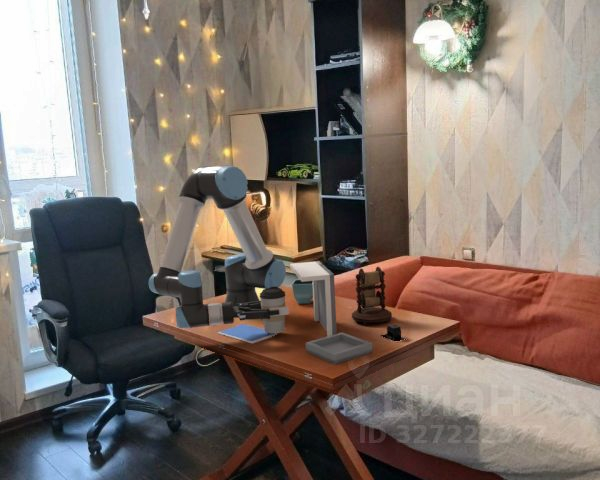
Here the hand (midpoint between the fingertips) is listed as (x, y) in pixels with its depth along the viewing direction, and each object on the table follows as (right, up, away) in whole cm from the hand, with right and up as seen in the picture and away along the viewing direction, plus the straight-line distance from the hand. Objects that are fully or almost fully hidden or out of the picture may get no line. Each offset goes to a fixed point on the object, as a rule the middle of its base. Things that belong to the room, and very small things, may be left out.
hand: (286, 306), depth 206 cm
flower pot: (+7, -3, +42) cm, 42 cm away
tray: (+17, -12, -20) cm, 29 cm away
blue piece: (-14, -11, +4) cm, 18 cm away
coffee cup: (-4, -8, +1) cm, 9 cm away
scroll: (+32, -6, +12) cm, 34 cm away
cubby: (+10, -9, +3) cm, 14 cm away
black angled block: (+37, -10, -9) cm, 39 cm away
